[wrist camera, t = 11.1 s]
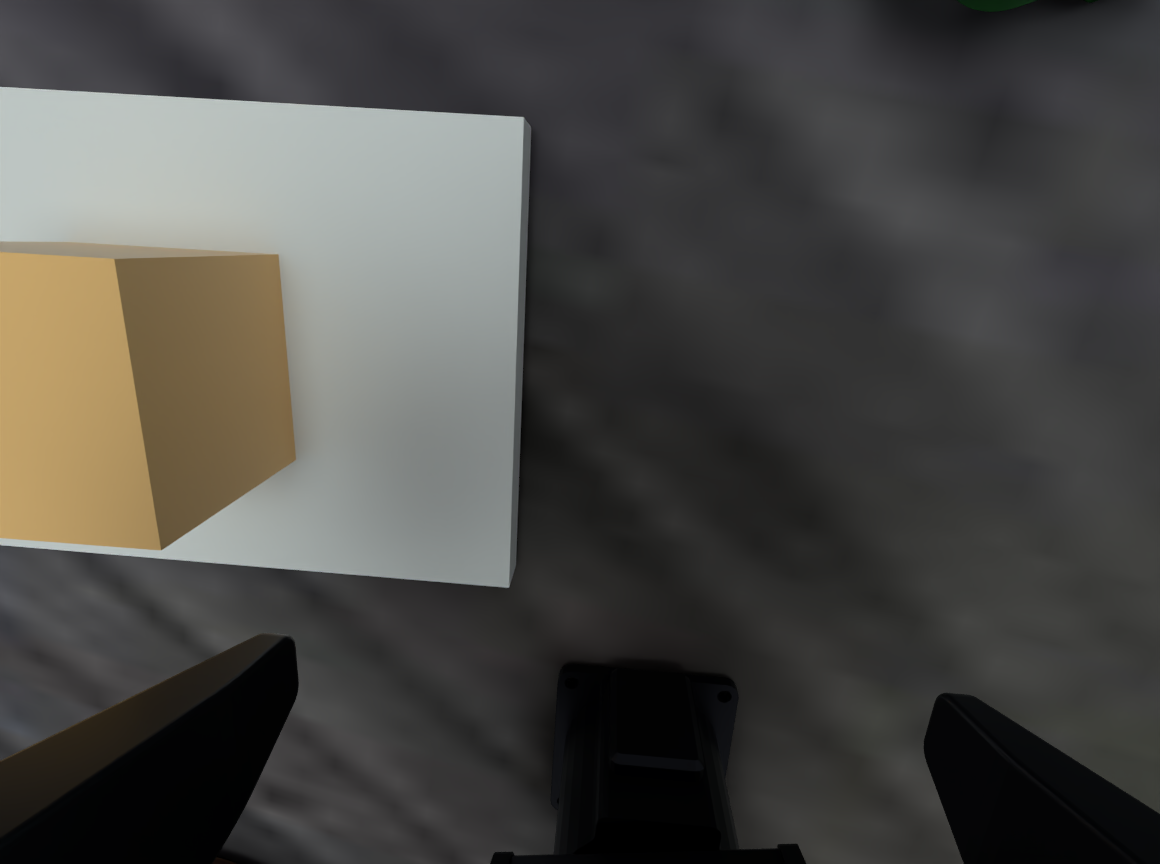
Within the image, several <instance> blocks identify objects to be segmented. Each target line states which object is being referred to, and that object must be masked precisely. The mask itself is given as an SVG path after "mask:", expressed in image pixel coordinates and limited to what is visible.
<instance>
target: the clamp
mask: <svg viewBox="0 0 1160 864" xmlns="http://www.w3.org/2000/svg"><path fill="white" fill-rule="evenodd" d="M957 1H958V2H960V3H961V4H963V5H965V6H967V7H969V8H971V9H975V10H979V11H987V12H995V11H1004V10H1009V9H1012V8H1016V7H1019V6H1022V5H1025V4H1028V3H1031V2H1034V1H1037V0H957ZM1084 1H1086V2H1095V1H1098V0H1084Z"/></svg>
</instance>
